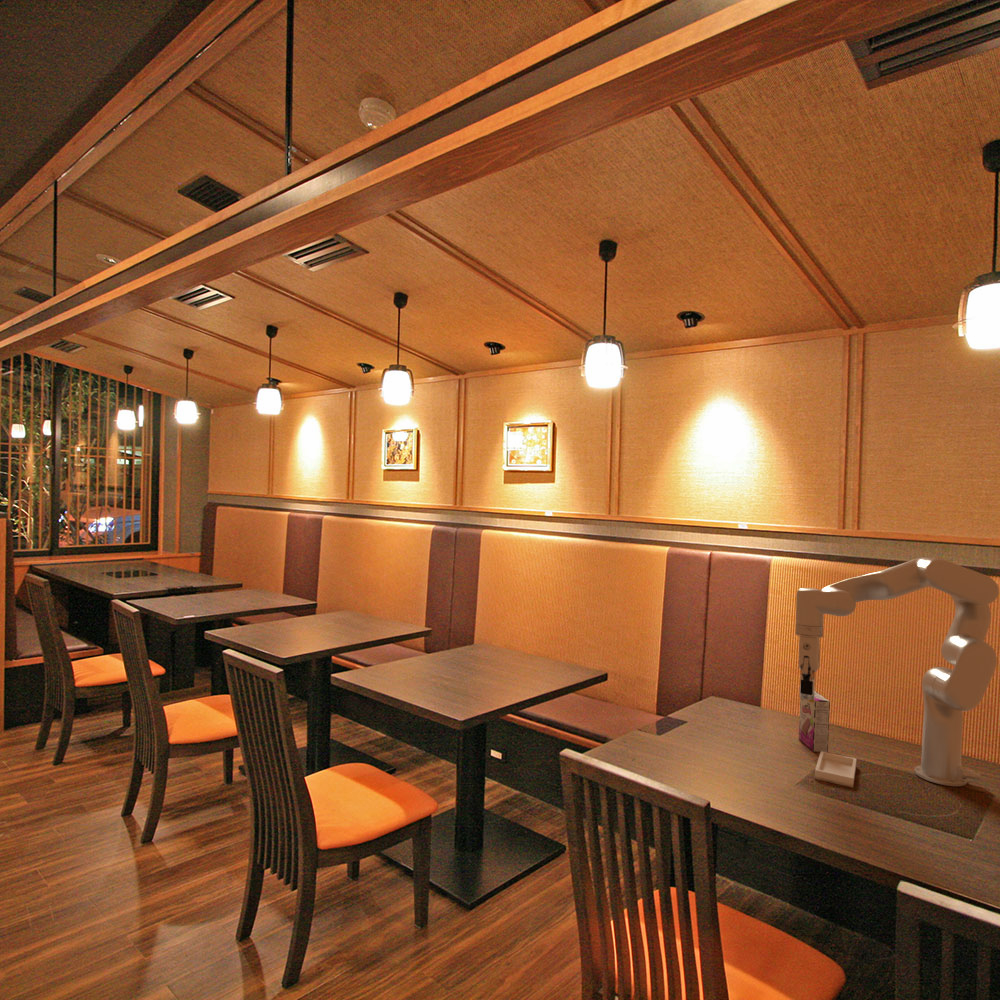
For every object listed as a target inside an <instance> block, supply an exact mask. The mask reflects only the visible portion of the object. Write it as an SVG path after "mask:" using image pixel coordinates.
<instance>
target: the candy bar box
mask: <svg viewBox="0 0 1000 1000" xmlns="http://www.w3.org/2000/svg"><path fill="white" fill-rule="evenodd" d="M799 698H800V697H799ZM799 700H800V702H799V725H798V726H799V727H798V728H799V729H798V740H799V741H801V743H802V744H803V745H805V746H806V747H808V748H809V750H811V751H812V752H813V753H820V752H821V751H823V752H828V753H829V735H830V734H829V733H830V732H829V731H830V712H831V711H830V709H831V708H830V707H831V700H829V699H828V698H826V697H824V696H823V695H822V694H820V693H818V692H817V691H816V690H815V697H814V699H813V700H807V699H802V698H800V699H799Z"/></svg>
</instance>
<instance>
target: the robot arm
mask: <svg viewBox="0 0 1000 1000" xmlns="http://www.w3.org/2000/svg"><path fill="white" fill-rule="evenodd" d="M925 588H933V589H936V590H938V591H941V592H943V593H946V594H948V595H950V597H951V599H952V600H953V603H954V609H955V613H954V616H953V619H952V623H951V624H950V626H949V629H948V632H947V633H946V635H945V638H944V640H943V643H942V645H941V648H940V649H941V650H940V652H941V653H940V654H941V656H942V658H943V659H944V660H945V661H946V662H947V663H948V664H950V665H952V666H953V669H951V668H948V667H945V666H935V667H932V668H929V669H928V670H927V671H926V672H925V673H924V675H923V677H922V680H921V681H922V682H921V689H922V696H923V719H922V720H923V721H922V737H921V738H922V739H921V740H922V741H921V742H922V743H921V760H920V765H917V766H914V774H915V775H917V776H918V777H920V778H921V779H923V780H925V781H928V782H930V783H934V784H938V785H942V786H948V787H963V786H966V785H967V781H968V780H967V778H968V779H970V780H971V779H972V780H974V781H981V773H978V772H975V770H971V769H966V768H964V767H963V765H962V749H963V747H962V745H963V744H962V743H963V727H964V713H963V712H968V711H972V710H973V709H976V708H977V707H978V705H979V704H980V703H981V702H982V700H983V698H984V697H985V694H986V691H987V689H988V687H989V686H990V685H989V684H990V683H991V680H992V678H993V675H994V673H995V671H996V668H997V664H998V663H997V662H998V661H997V660H998V657H997V653H996V651H995V649H994V648H993V647H992V645H991V644H989V643H987V642H986V641H985V639H986V637H987V633H988V632H989V628H990V627H991V626H990V625H991V620H992V612H991V607H990V604H993V602H994V603H995V601H996V600H997V598H998V597H999V593H1000V588H999V585H998V583H997V582H996V581H995V579H993V578H992V577H990V576H989V575H985V574H983V573H981V572H978V571H975V570H973V569H970V568H967V567H964V566H962V565H959V564H956V563H954V562H952V561H949V560H946V559H943V558H937V557H932V556H920V557H917V558H913V559H910V560H908V561H905V562H902V563H900V564H897V565H894V566H890V567H888V568H885V569H882V570H878V571H876V572H871V573H867V574H863V575H858V576H855V577H850V578H846V579H843V580H841V581H838V582H834V583H832V584H829V585H827V586H824V587H823V588H821V589H818V588H813V587H812V588H811V587H802V588H799V589H797V591H796V601H795V635H796V636H798V637H799V639H798V669H799V670H800V669H801V670H802V675H801V689H800V688H799V694H800V693H801V694H807V695H812V694H813V681H812V670H814V672H815V673H816V672H818V670H819V669H820V667H821V646H820V645H821V641H820V640H821V638H824V623H825V621H824V620H825V619H824V617H825V615H831V616H834V617H835V616H836V617H846V616H849V615H852V614H853V612H855V610H856V606H857V603H859V602H863V601H864V602H866V601H875V600H876V601H886V600H892V599H896V598H899V597H902V596H905V595H907V594H911V593H914V592H918V591H920V590H922V589H925ZM808 669H810V670H808ZM808 672H810V674H809V673H808Z"/></svg>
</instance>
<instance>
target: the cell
mask: <svg viewBox="0 0 1000 1000" xmlns="http://www.w3.org/2000/svg"><path fill="white" fill-rule="evenodd" d="M808 670H810V669H808ZM799 673H800V674H799V690H800V689H801V675H802V670H801V669H799ZM808 673H809V674H810V672H808ZM812 681H813V694H812V695H807V694H801V693H800V692H799V698H802V699H807V700H813V699H814V697H815V691H816V688H815V687H816V672H814V670H812Z"/></svg>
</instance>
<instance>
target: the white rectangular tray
mask: <svg viewBox="0 0 1000 1000" xmlns="http://www.w3.org/2000/svg"><path fill="white" fill-rule="evenodd" d="M856 770H857V758H855V757H851V756H847V755H841V754H836V753H833V752H832V753H831V752H829V751H828V752H823V751H821V752H819V756H818V759H817V762H816V766H815V769H814V779H815V780H818V781H823V782H826V783H827V782H828V783H831V784H835V785H840V786H844V787H849V788H854V784H855V777H856Z"/></svg>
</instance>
